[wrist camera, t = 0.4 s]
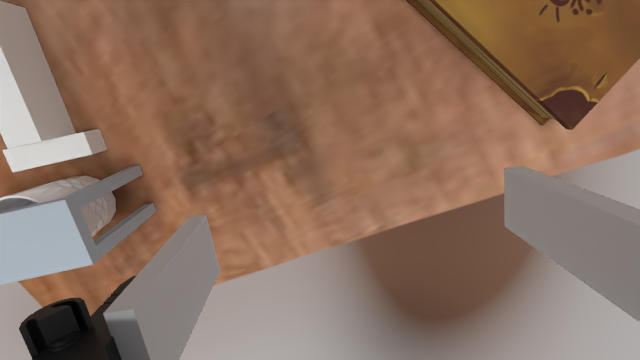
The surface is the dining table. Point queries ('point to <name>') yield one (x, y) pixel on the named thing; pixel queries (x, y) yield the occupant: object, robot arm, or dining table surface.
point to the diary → (544, 48)
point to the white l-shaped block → (34, 101)
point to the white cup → (93, 212)
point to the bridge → (62, 232)
